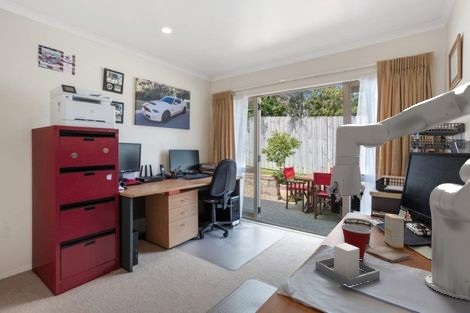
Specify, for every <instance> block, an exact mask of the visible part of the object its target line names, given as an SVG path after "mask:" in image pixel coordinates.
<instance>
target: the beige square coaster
mask: <svg viewBox="0 0 470 313" xmlns="http://www.w3.org/2000/svg"><path fill="white" fill-rule="evenodd" d="M365 253H367V254H369V255H372V256H374V257H376V258H379V259H382V260H384V261H387V262H390V263H393V264H394V263H397V262H401V261H404V260H407V259H410V258H411V255H410V254H407V253H405V252H401V251H398V250H396V249H393V248H392V247H391V248H389V247H387V246H385V245H379V246H376V247H372V248H371V247H370V248H368V249H367V248H366V250H365Z"/></svg>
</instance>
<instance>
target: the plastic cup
mask: <svg viewBox="0 0 470 313" xmlns="http://www.w3.org/2000/svg"><path fill="white" fill-rule="evenodd" d="M340 228H341V230H342V234H343V243H347V244H350V245H352V246H355V247H357V248H359V259H363V260H364V258H365V253H366V249H367V246H368V245H367V241H368V238H369V235H370V233H372V229H371V230H370V229H368V228H365V227H361V226H356V225H349V224H345V223H344V224H343V223H342V224H341V226H340ZM370 236H371V235H370Z"/></svg>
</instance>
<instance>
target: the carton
mask: <svg viewBox="0 0 470 313" xmlns="http://www.w3.org/2000/svg"><path fill="white" fill-rule="evenodd" d="M333 252H334V253H333V257H334V265H333V270H334V271H336V272H338V273H340V274H342V275H344V276H345V277H347V278H349V277H351V278H353V277H352V276H355V277H356V275H358V276H360V269H359V262H360V261H359V248H357V247H355V246H352V245H350V244H347V243H345V242H343V243H339V244H335V245H334V246H333ZM349 279H350V278H349Z"/></svg>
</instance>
